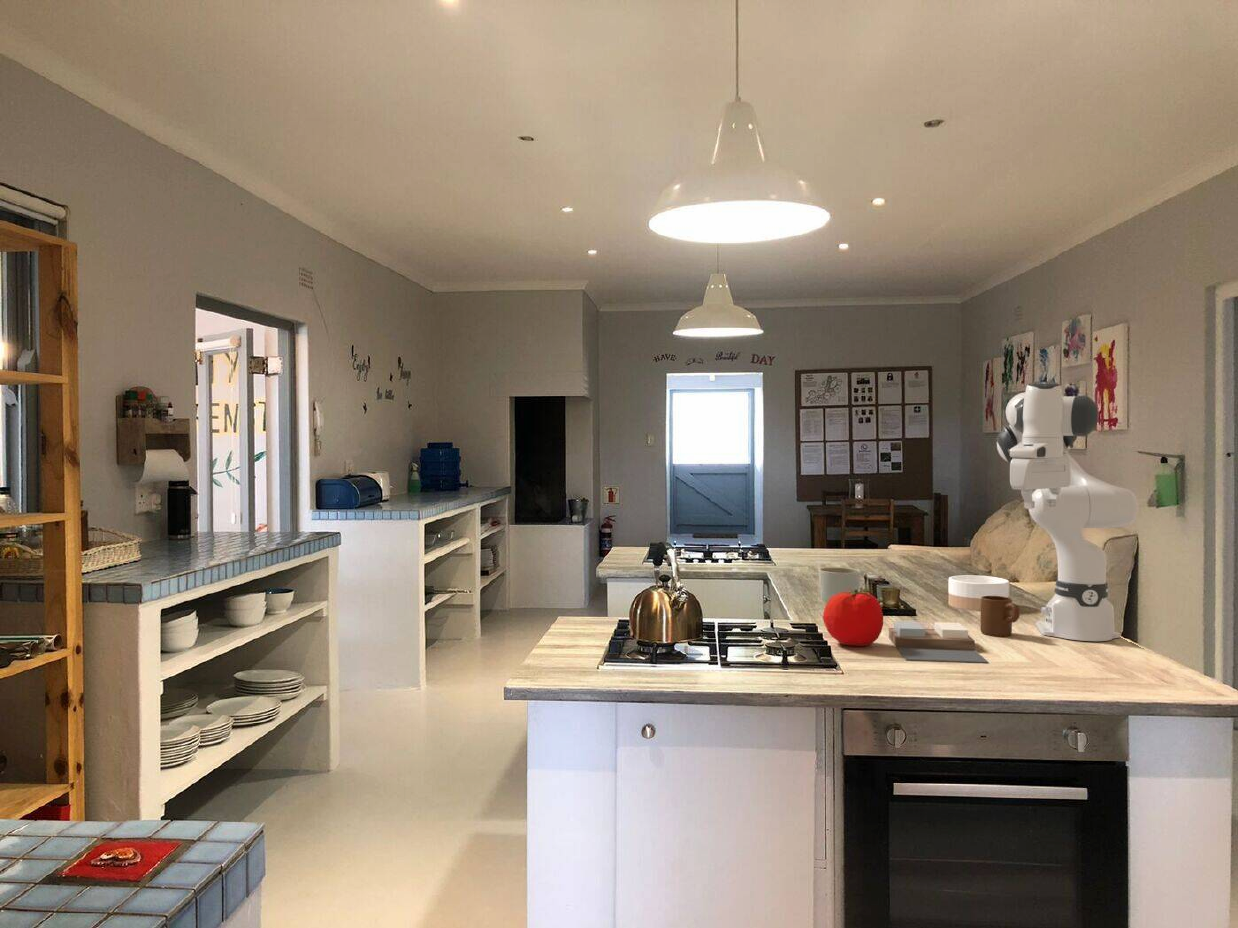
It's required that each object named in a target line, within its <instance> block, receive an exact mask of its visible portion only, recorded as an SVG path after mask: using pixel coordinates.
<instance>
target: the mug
mask: <svg viewBox="0 0 1238 928" xmlns="http://www.w3.org/2000/svg"><path fill="white" fill-rule="evenodd" d="M1020 615H1021V610H1020V607H1019V606H1018V605H1017V604H1016V603H1014V602H1013V599H1012V598H1011V597H1009V598H1008V597H1002V596H983V597H981V611H980V632H981V634H984V635H985V636H991V637H1009V636H1011V635H1012V632H1013V630H1012V628H1013V623H1016V622H1017V621H1018V620H1019V619H1020Z"/></svg>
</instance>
